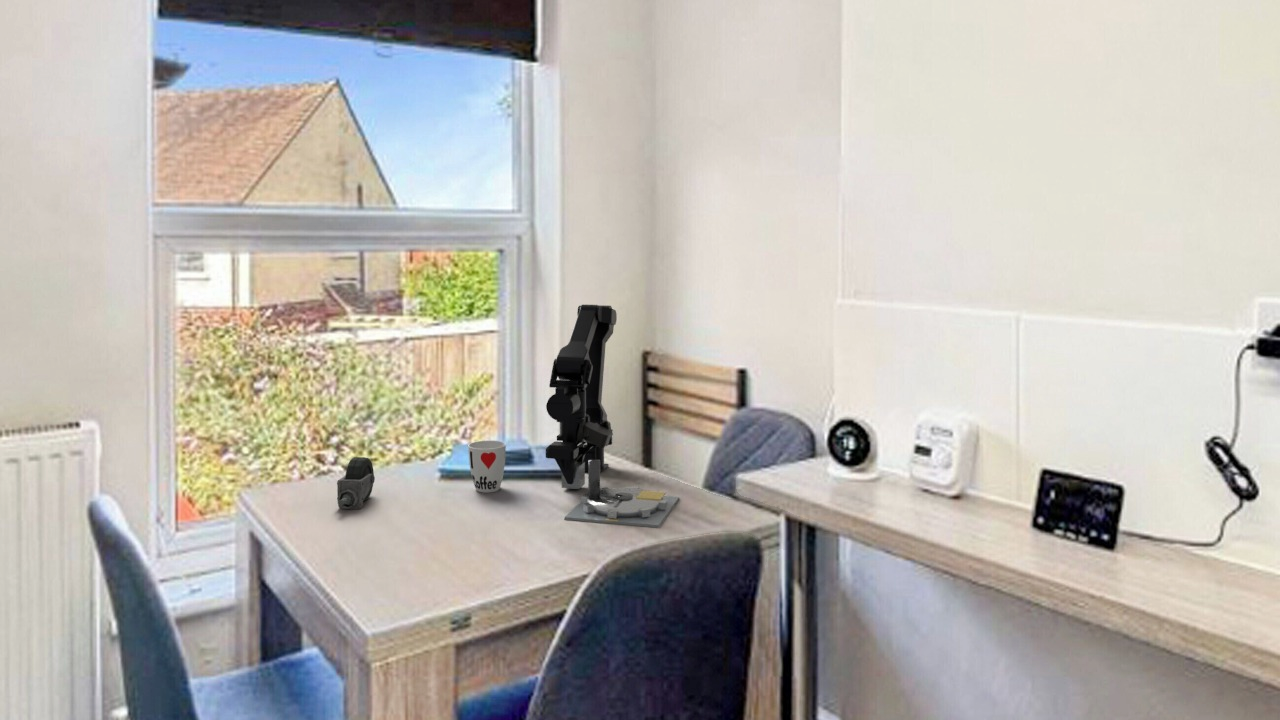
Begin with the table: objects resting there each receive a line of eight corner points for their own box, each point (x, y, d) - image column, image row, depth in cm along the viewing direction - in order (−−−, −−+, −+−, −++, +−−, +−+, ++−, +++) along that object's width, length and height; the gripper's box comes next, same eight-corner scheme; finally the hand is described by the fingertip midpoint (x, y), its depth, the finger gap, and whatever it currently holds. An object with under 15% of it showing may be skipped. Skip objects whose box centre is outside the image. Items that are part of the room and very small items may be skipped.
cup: (462, 492, 195) (461, 447, 194) (479, 482, 203) (478, 439, 202) (496, 496, 193) (495, 450, 192) (512, 485, 201) (511, 441, 199)
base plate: (593, 492, 196) (593, 489, 196) (679, 499, 191) (679, 496, 191) (564, 519, 178) (564, 516, 178) (658, 527, 173) (658, 524, 173)
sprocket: (595, 490, 195) (595, 446, 194) (675, 496, 191) (675, 452, 189) (568, 514, 178) (568, 467, 177) (656, 522, 174) (656, 474, 172)
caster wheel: (354, 498, 194) (327, 513, 180) (354, 453, 194) (326, 465, 179) (380, 499, 194) (355, 514, 179) (380, 454, 194) (355, 465, 179)
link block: (567, 482, 201) (567, 460, 200) (584, 484, 200) (584, 461, 199) (561, 487, 197) (561, 464, 196) (579, 489, 196) (579, 466, 195)
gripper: (595, 422, 185) (595, 496, 187) (620, 405, 203) (620, 472, 205) (544, 419, 188) (545, 492, 190) (572, 402, 206) (573, 469, 208)
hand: (573, 481), depth 198 cm, fingers closed on link block, 4 cm apart
